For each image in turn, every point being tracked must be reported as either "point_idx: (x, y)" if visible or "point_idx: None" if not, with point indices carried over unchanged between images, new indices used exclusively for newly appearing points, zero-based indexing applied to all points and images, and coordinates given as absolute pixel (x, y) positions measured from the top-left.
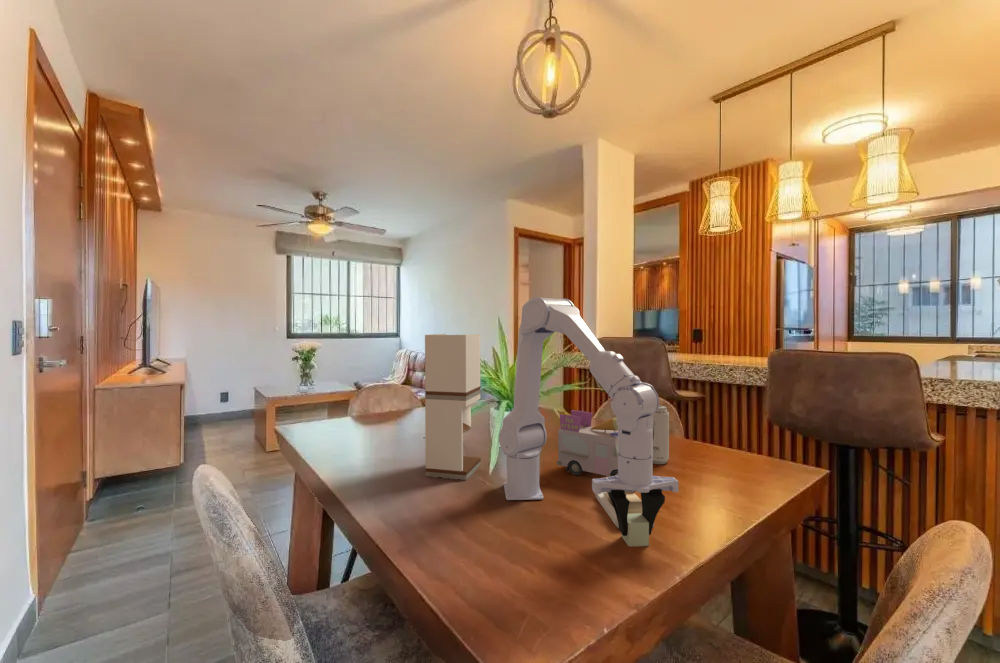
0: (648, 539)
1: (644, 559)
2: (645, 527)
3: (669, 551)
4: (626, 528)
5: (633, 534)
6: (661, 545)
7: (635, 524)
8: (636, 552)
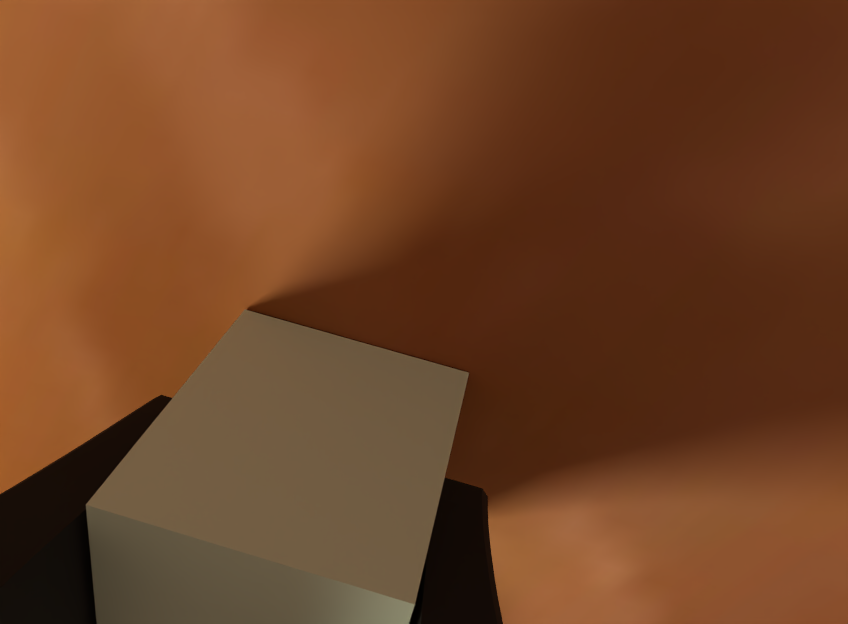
0: (216, 351)
1: (454, 83)
2: (180, 464)
3: (69, 144)
4: (443, 549)
5: (381, 447)
6: (108, 273)
7: (310, 547)
8: (454, 250)
